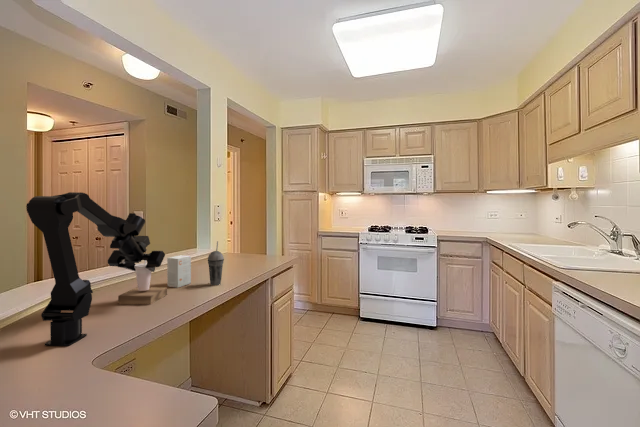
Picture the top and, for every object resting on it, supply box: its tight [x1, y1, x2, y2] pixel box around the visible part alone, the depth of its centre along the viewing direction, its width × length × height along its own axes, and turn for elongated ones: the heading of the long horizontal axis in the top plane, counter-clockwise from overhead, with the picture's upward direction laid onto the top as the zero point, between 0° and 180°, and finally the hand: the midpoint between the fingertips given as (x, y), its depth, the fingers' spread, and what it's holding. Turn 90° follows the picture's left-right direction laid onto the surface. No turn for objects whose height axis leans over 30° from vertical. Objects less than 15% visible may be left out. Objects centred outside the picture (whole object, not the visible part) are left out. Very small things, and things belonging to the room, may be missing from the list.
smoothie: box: [134, 260, 153, 291], centre depth 117 cm, size 6×6×14 cm
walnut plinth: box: [117, 286, 168, 305], centre depth 118 cm, size 12×12×3 cm
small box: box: [166, 254, 192, 288], centre depth 138 cm, size 8×6×13 cm
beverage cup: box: [207, 241, 225, 286], centre depth 140 cm, size 7×7×20 cm
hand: (145, 270), depth 118 cm, fingers closed on smoothie, 6 cm apart
